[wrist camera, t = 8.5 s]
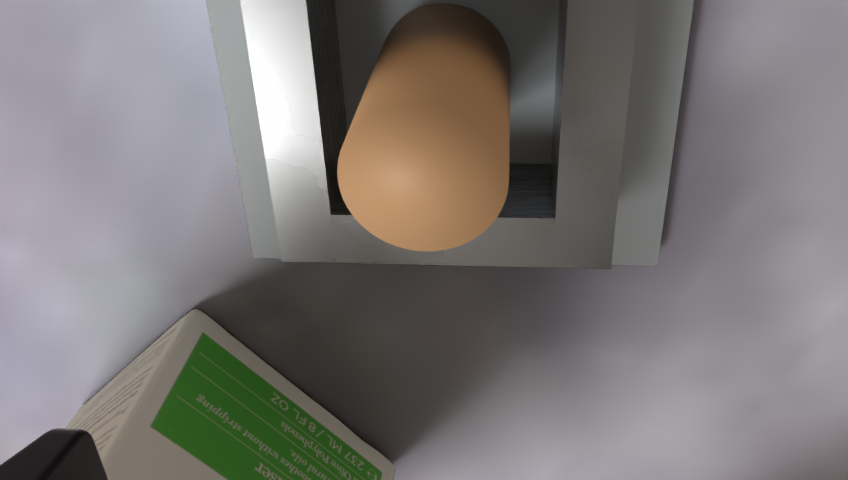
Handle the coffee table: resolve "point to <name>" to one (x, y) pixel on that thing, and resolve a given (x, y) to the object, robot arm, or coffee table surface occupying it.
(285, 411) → the skincare box
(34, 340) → the coffee table surface
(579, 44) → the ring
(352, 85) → the piston base
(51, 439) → the robot arm
